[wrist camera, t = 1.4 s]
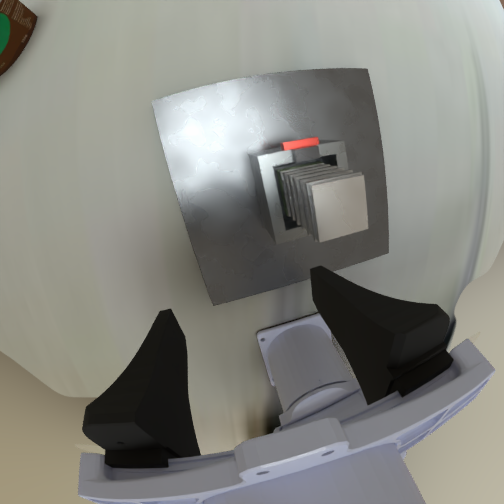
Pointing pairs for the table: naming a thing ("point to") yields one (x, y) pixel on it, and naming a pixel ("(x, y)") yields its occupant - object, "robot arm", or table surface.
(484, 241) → the table surface
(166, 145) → the stand base
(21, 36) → the food container
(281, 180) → the lift column
